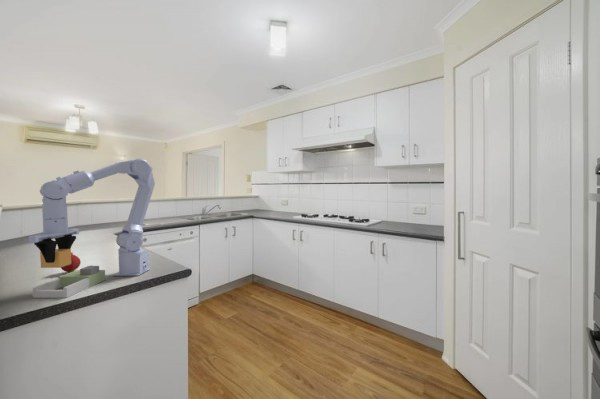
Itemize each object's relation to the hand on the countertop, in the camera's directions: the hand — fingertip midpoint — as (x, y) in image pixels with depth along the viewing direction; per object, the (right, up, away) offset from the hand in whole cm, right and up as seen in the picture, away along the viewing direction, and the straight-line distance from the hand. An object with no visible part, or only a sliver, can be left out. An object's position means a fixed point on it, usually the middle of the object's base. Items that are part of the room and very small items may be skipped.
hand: (57, 260), depth 81 cm
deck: (+4, -9, +1) cm, 10 cm away
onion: (-10, -9, +16) cm, 21 cm away
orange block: (0, -2, 0) cm, 2 cm away
